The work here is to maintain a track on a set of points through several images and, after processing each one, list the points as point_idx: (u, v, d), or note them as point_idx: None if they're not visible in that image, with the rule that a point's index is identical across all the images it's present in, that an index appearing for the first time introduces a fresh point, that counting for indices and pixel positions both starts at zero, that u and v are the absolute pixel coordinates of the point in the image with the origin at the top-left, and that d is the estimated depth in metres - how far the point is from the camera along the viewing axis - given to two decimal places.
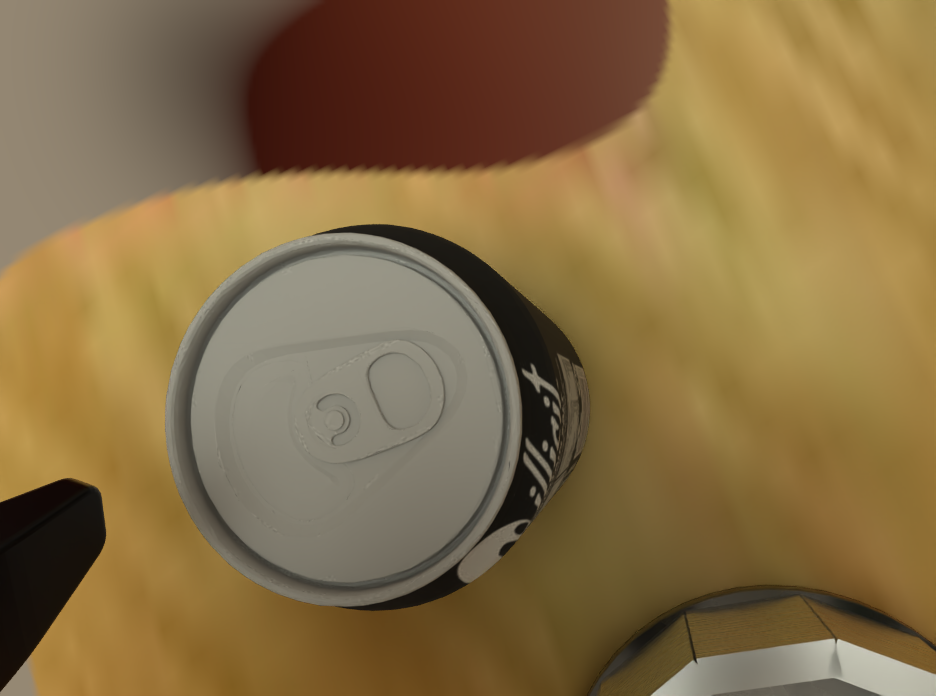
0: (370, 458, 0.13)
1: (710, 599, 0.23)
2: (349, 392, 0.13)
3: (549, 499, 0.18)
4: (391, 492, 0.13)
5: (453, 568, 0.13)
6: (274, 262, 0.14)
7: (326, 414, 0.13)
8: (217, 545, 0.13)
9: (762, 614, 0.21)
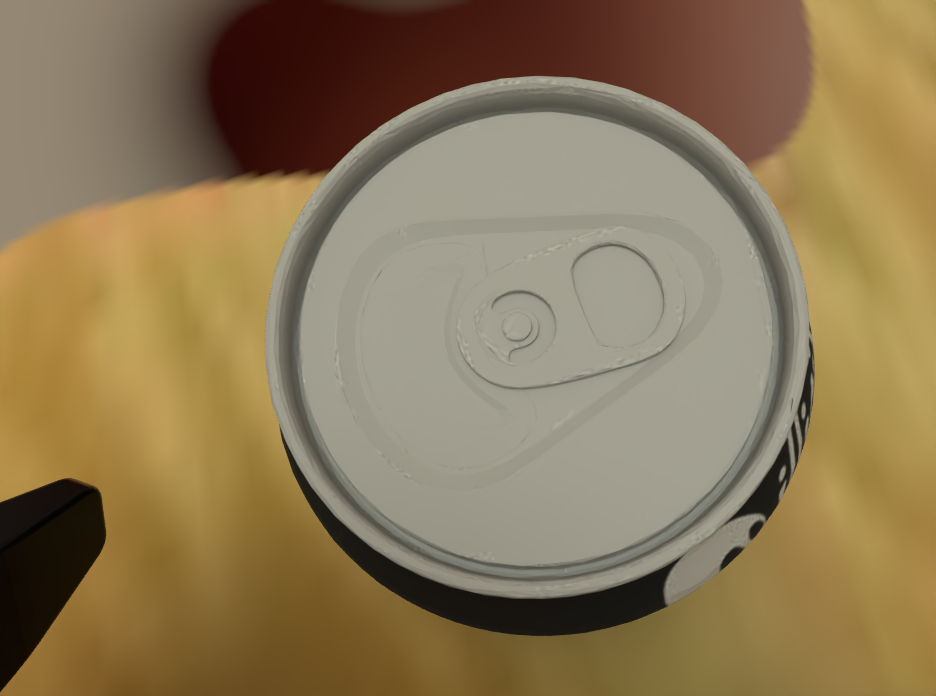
0: (564, 387, 0.09)
1: None
2: (543, 290, 0.09)
3: None
4: (595, 436, 0.09)
5: (665, 569, 0.09)
6: (455, 112, 0.10)
7: (505, 317, 0.09)
8: (318, 484, 0.09)
9: None
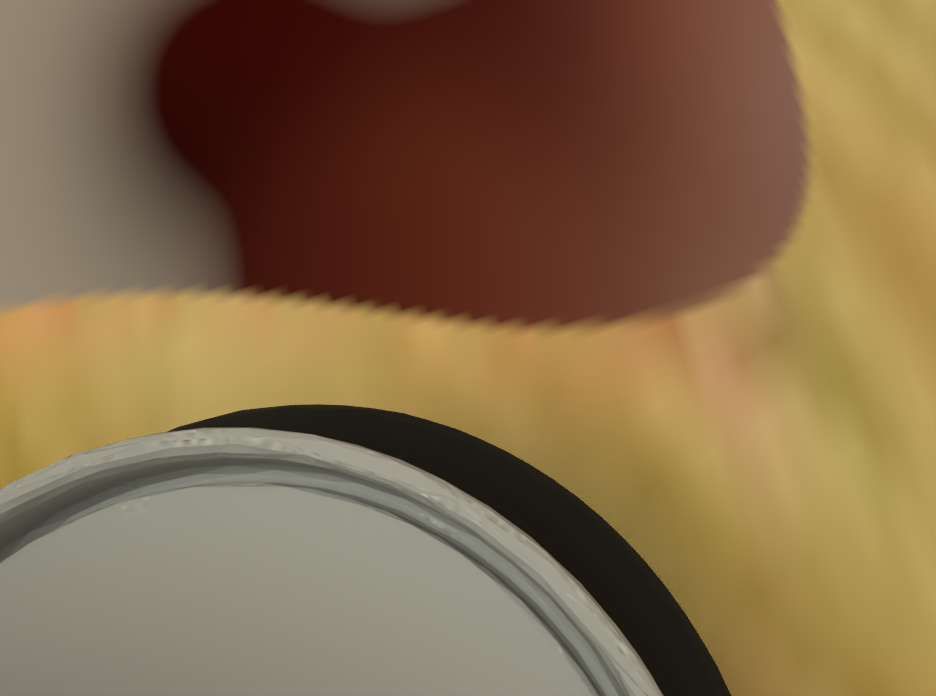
0: None
1: None
2: None
3: None
4: None
5: None
6: (107, 480, 0.05)
7: None
8: None
9: None
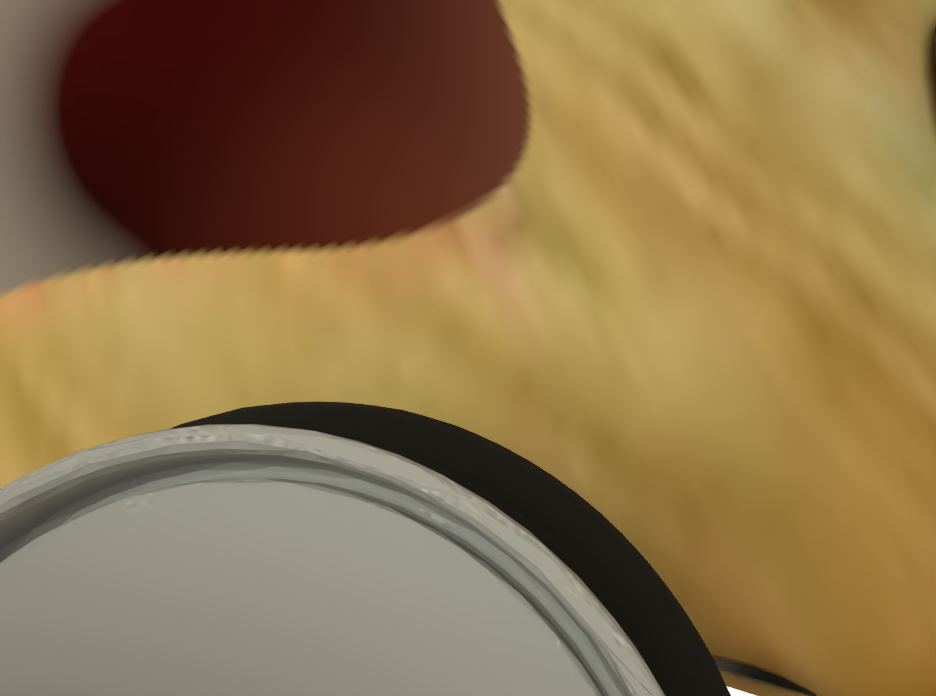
0: None
1: None
2: None
3: None
4: None
5: None
6: (111, 476, 0.05)
7: None
8: None
9: None
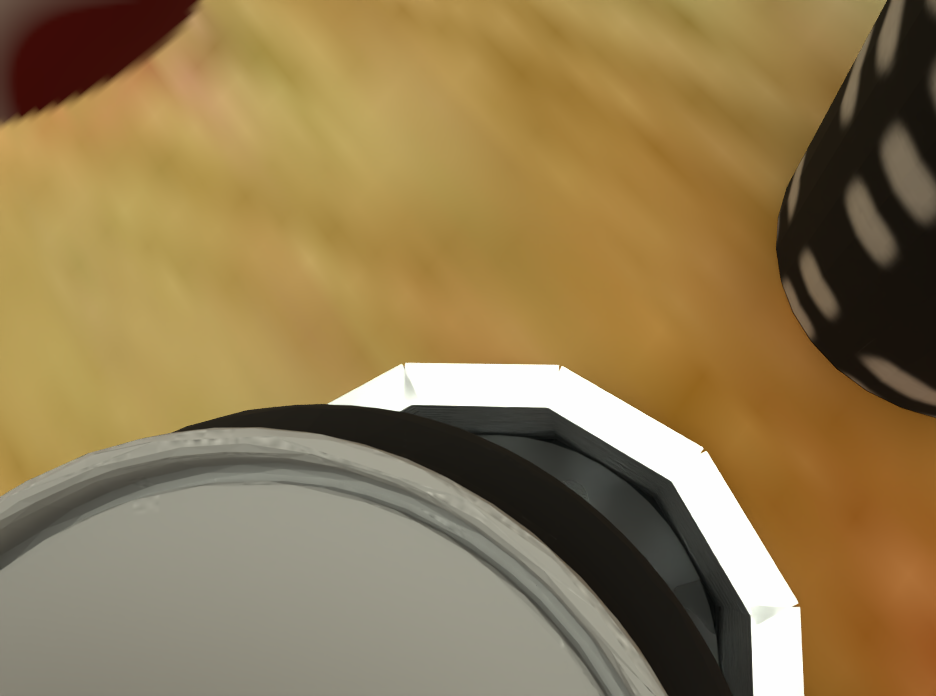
0: None
1: None
2: None
3: None
4: None
5: None
6: (118, 479, 0.05)
7: None
8: None
9: None
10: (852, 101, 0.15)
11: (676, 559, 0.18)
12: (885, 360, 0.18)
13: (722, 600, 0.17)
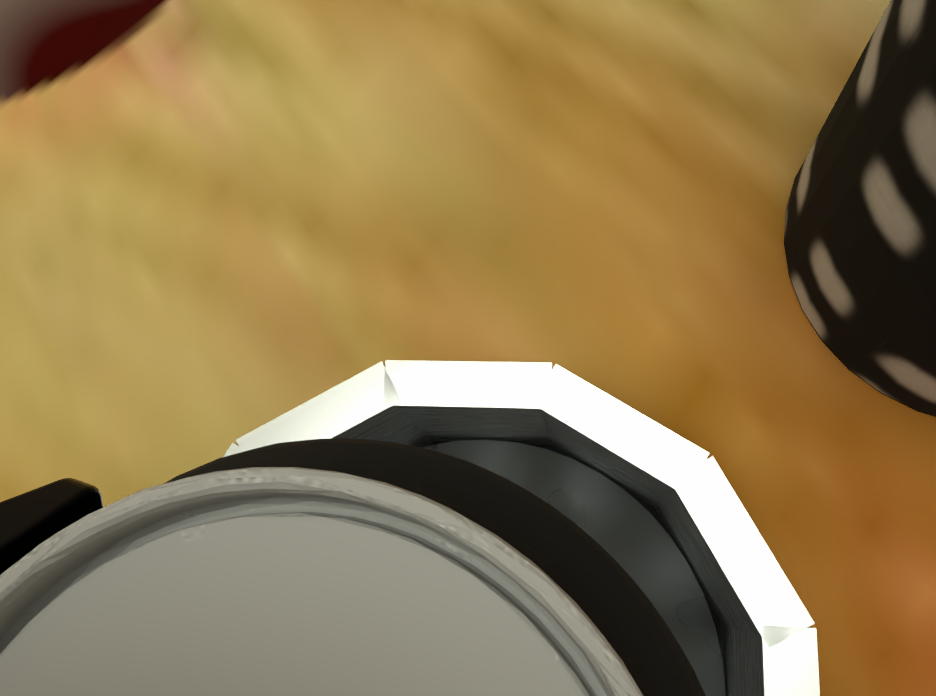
0: None
1: None
2: None
3: None
4: None
5: None
6: (168, 511, 0.06)
7: None
8: None
9: None
10: (871, 75, 0.14)
11: (679, 574, 0.17)
12: (903, 359, 0.16)
13: (729, 618, 0.16)
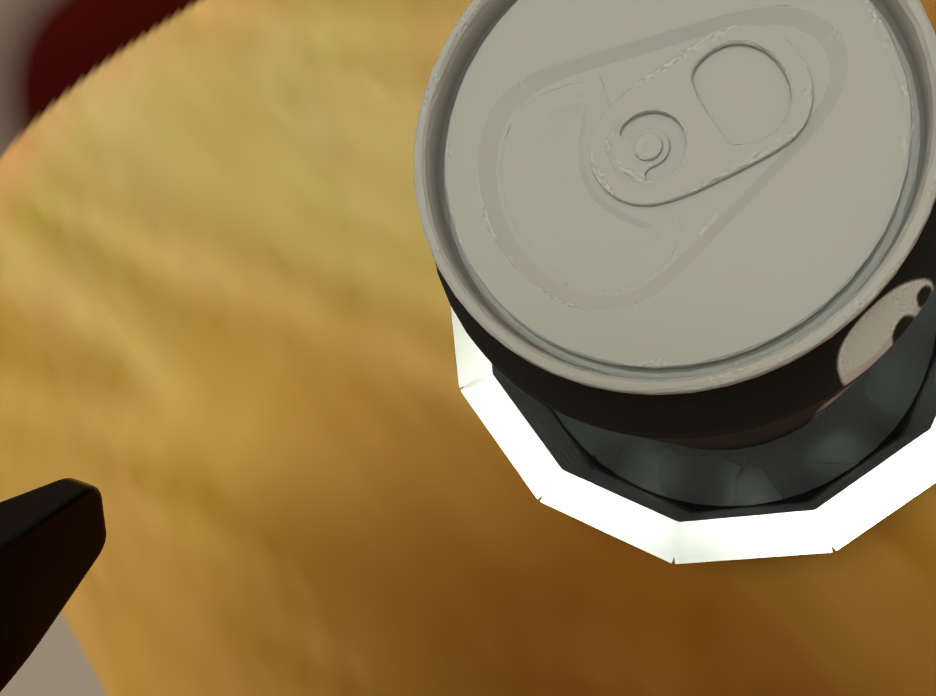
0: (704, 193, 0.09)
1: None
2: (667, 106, 0.10)
3: None
4: (742, 231, 0.09)
5: (835, 345, 0.09)
6: None
7: (635, 139, 0.10)
8: (492, 325, 0.10)
9: None
10: None
11: None
12: None
13: None
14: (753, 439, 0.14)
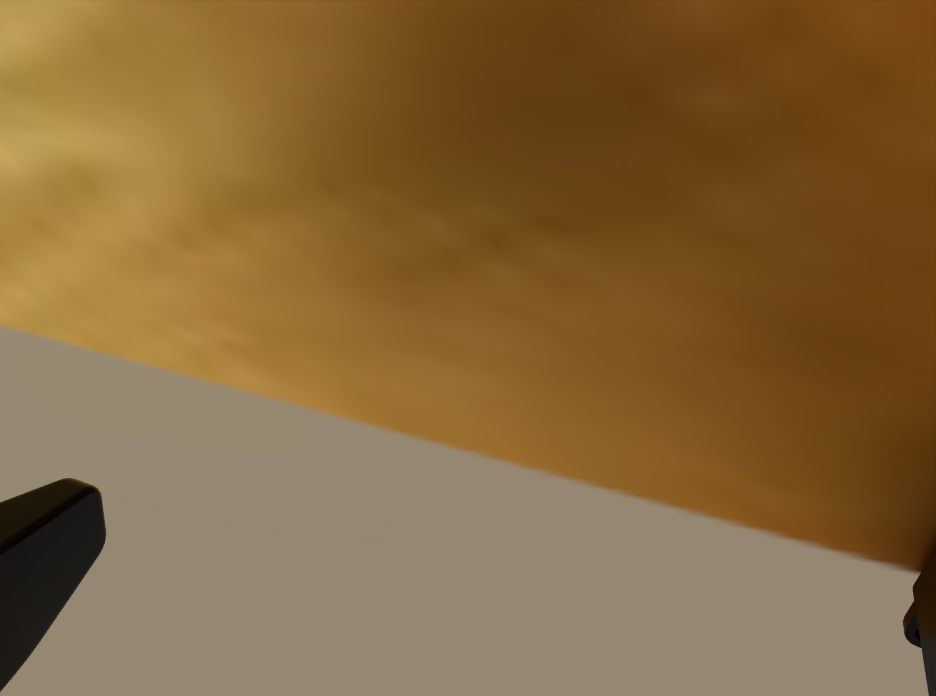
0: None
1: None
2: None
3: None
4: None
5: None
6: None
7: None
8: None
9: None
10: None
11: None
12: None
13: None
14: None
